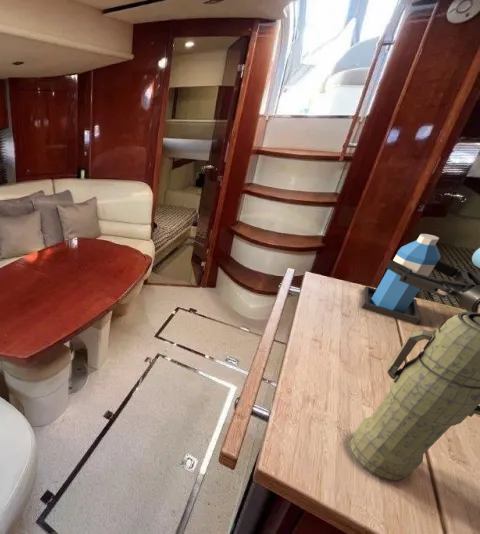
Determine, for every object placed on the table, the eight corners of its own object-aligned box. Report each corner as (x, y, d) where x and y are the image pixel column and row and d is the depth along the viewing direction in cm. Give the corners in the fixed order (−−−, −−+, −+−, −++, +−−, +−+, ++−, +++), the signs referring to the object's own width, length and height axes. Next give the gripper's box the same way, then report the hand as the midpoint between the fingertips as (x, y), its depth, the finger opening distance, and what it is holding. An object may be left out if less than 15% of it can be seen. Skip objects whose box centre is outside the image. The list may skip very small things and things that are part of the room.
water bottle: (367, 293, 107) (403, 228, 95) (403, 301, 103) (445, 233, 91) (373, 308, 100) (412, 239, 88) (411, 316, 96) (458, 246, 84)
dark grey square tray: (413, 304, 102) (416, 299, 101) (416, 324, 94) (419, 319, 93) (363, 290, 110) (365, 285, 109) (361, 308, 101) (364, 303, 100)
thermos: (339, 424, 67) (427, 293, 49) (413, 459, 60) (545, 323, 43) (336, 456, 61) (435, 322, 43) (418, 499, 54) (573, 361, 37)
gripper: (434, 317, 78) (365, 274, 96) (530, 314, 78) (442, 272, 97) (451, 293, 74) (376, 253, 93) (551, 290, 75) (457, 251, 93)
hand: (410, 263), depth 95 cm, fingers open, 13 cm apart
